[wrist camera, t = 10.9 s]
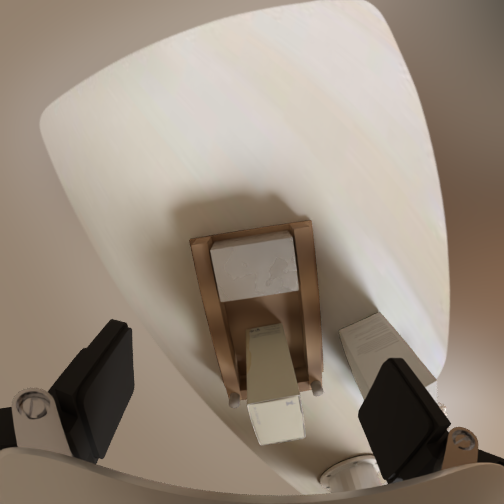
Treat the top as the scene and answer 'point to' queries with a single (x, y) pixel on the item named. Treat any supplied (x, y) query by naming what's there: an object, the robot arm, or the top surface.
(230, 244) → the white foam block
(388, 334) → the skincare box
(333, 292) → the top surface
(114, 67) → the top surface
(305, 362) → the holder
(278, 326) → the skincare box
